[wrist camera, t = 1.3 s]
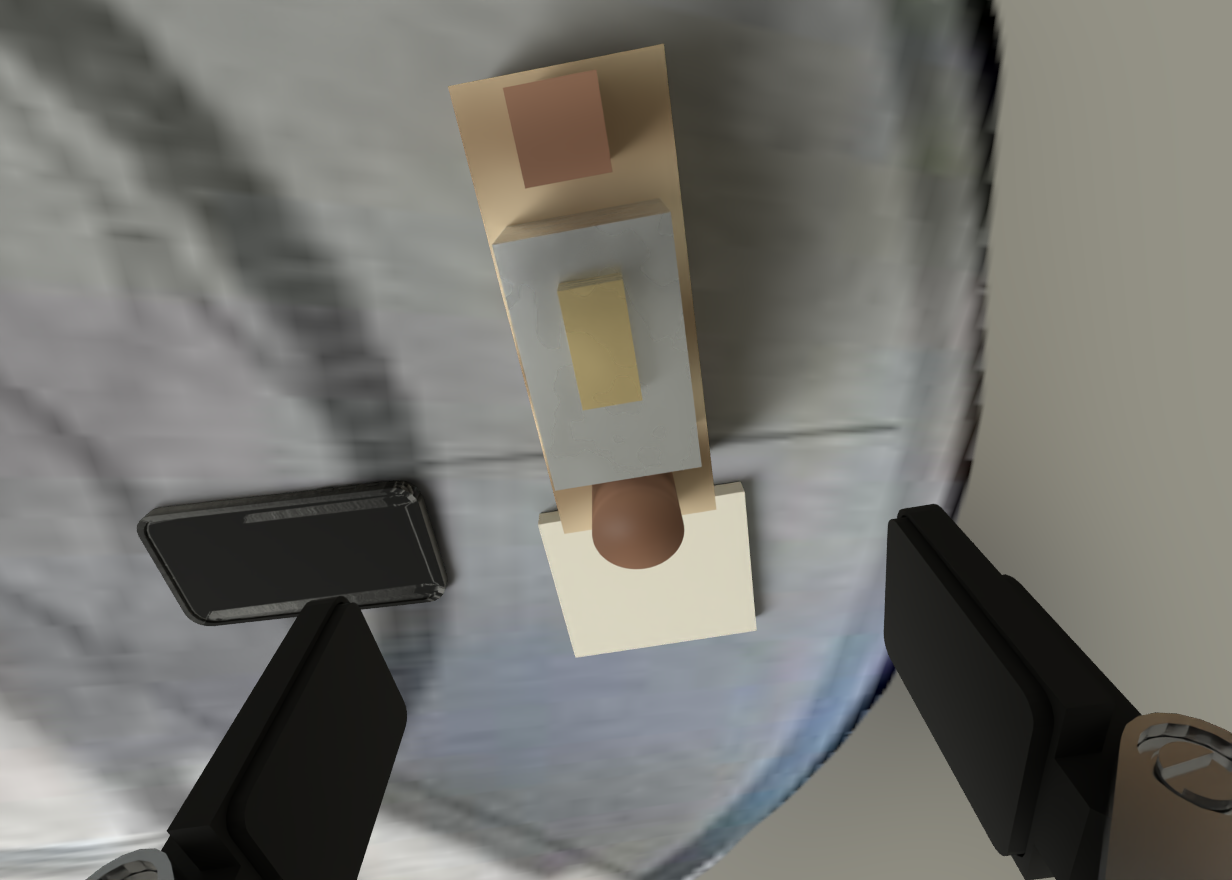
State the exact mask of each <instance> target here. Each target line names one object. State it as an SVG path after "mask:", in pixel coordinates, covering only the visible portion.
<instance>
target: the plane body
mask: <svg viewBox="0 0 1232 880" xmlns="http://www.w3.org/2000/svg"><path fill="white" fill-rule="evenodd" d="M448 88H449V92H450V96H451V99H452V103H453V107H454V111H455V115H456V119H457V123H458V126H459V130H460V134H461V138H462V142H463V146H464V150H465V153H466V157H467V161H468V165H469V169H470V173H471V177H472V180H473V184H474V188H475V192H476V196H477V200H478V204H479V207H480V211H481V215H482V219H483V223H484V227H485V230H486V234H487V238H488V242H489V246H490V250H491V254H492V257H493V261H494V265H495V269H496V273H497V277H498V281H499V284H500V288H501V292H502V296H503V300H504V304H505V308H506V311H507V315H508V319H509V323H510V327H511V331H512V335H513V338H514V342H515V346H516V350H517V354H518V358H519V362H520V365H521V369H522V373H523V377H524V381H525V385H526V389H527V392H528V396H529V400H530V404H531V408H532V412H533V415H534V419H535V423H536V427H537V431H538V435H539V439H540V442H541V446H542V450H543V454H544V458H545V462H546V466H547V469H548V473H549V477H550V481H551V485H552V489H553V493H554V496H555V500H556V504H557V508H558V512H559V516H560V520H561V523H562V527H563V531H564V534H567V533H574V532H580V531H586V530H592V539H593V543H594V545H595V547H596V549H597V551H598V552H599V554H600V555H601V556H602V557H603V558H605V559H606V560H607V561H609V562H610V563H612V564H614V565H616V566H619V567H622V568H627V569H646V568H651V567H654V566H657V565H659V564H661V563H663V562H665V561H666V560H668V559H669V558H670V557H672V556H673V555H674V554H675V553H676V551H677V550H678V549H679V547H680V545H681V543H682V541H683V537H684V523H683V518H682V515H686V514H692V513H699V512H705V511H711V510H716V501H715V492H714V483H713V475H712V466H711V457H710V448H709V439H708V430H707V422H706V413H705V404H704V395H703V386H702V377H701V369H700V360H699V351H698V342H697V333H696V324H695V316H694V307H693V298H692V289H691V280H690V271H689V263H688V254H687V245H686V236H685V227H684V218H683V210H682V201H681V192H680V183H679V174H678V165H677V157H676V148H675V139H674V130H673V121H672V113H671V104H670V95H669V86H668V77H667V68H666V60H665V51H664V44H660V45H655V46H650V47H645V48H639V49H634V50H629V51H624V52H619V53H614V54H609V55H604V56H599V57H594V58H589V59H584V60H579V61H574V62H569V63H564V64H559V65H554V66H549V67H544V68H539V69H533V70H528V71H523V72H518V73H513V74H508V75H503V76H498V77H493V78H488V79H483V80H478V81H473V82H468V83H463V84H458V85H453V86H448ZM657 198H660V199H661V201H662V202H663V203H664V204H665V206H666V207H667V208H668V209H669V211H670V212H671V219H672V227H673V235H674V243H675V251H676V260H677V268H678V276H679V284H680V292H681V301H682V309H683V317H684V325H685V333H686V342H687V350H688V358H689V366H690V374H691V383H692V391H693V399H694V407H695V415H696V424H697V432H698V440H699V448H700V456H701V465H702V467H698V468H691V469H685V470H679V471H673V472H667V473H661V474H655V475H649V476H643V477H636V478H630V479H624V480H618V481H612V482H606V483H600V484H594V485H587V486H581V487H575V488H569V489H563V490H557V491H555V488H554V484H553V481H552V477H551V473H550V469H549V465H548V461H547V457H546V453H545V449H544V446H543V442H542V438H541V434H540V430H539V426H538V422H537V418H536V415H535V411H534V407H533V403H532V399H531V395H530V391H529V387H528V383H527V380H526V376H525V372H524V368H523V364H522V360H521V356H520V352H519V349H518V345H517V341H516V337H515V333H514V329H513V325H512V321H511V317H510V314H509V310H508V306H507V302H506V298H505V294H504V290H503V286H502V283H501V279H500V275H499V271H498V267H497V263H496V259H495V255H494V251H493V248H492V244H493V243H494V242H495V240H496V239H497V238H498V236H499V235H500V234H501V232H502V231H503V230H504V229H505V227H506V226H512V225H517V224H522V223H528V222H533V221H539V220H544V219H549V218H555V217H560V216H565V215H571V214H576V213H582V212H587V211H592V210H598V209H603V208H609V207H614V206H619V205H625V204H630V203H635V202H641V201H646V200H652V199H657Z"/></svg>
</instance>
